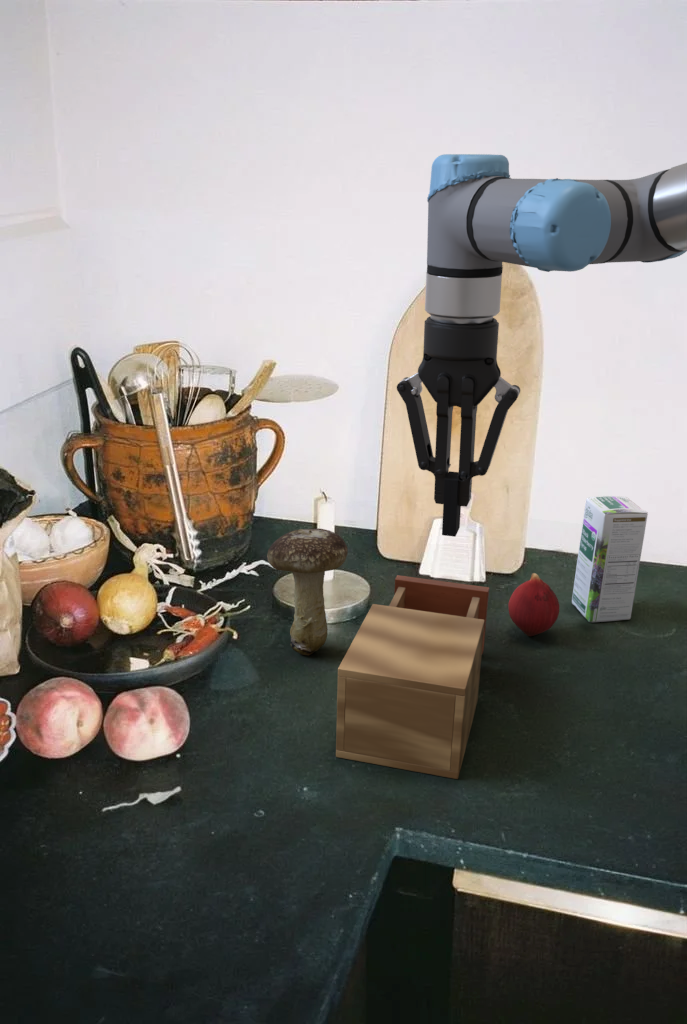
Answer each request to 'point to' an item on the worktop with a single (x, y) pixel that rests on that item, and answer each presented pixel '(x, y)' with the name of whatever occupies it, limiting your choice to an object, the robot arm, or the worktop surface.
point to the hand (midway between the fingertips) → (450, 531)
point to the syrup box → (608, 558)
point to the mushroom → (308, 580)
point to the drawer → (441, 598)
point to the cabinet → (409, 690)
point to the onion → (533, 606)
